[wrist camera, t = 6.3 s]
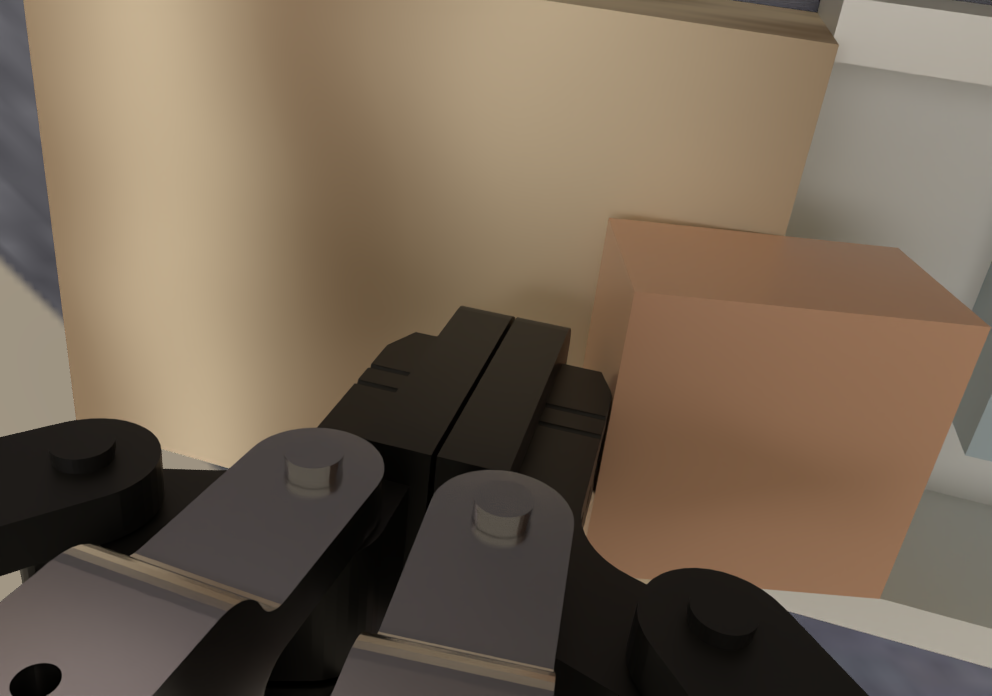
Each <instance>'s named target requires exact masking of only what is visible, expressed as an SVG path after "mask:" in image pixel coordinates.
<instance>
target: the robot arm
mask: <svg viewBox="0 0 992 696" xmlns="http://www.w3.org/2000/svg"><path fill="white" fill-rule="evenodd" d="M570 338H571V328H567V327H563V326H558V325H553V324H548V323H543V322H539V321H534V320H529V319H524V318H519V317H517V318H516V319H515V317H514V316H509V315H504V314H500V313H495V312H490V311H485V310H480V309H476V308H471V307H466V306H460V307H459V308H458V309H457V311H456V312H455V313H454V315H453V316H452V318H451V319H450V320H449V322H448V323H447V324H446V326H445V327H444V328H443V330H442V331H441V332H440V334H439V335H438V336H432V335H428V334H423V333H418V332H414V333H412V334H410V335H408V336H406V337H403V338H401V339H399V340H397V341H395V342H392V343H390V344H388V345H387V346H386V347H385V348H384V349H383V350H382V352H381V353H380V354H379V355H378V356H377V357H376V359H375V360H374V361H373V362H372V363H371V367H370V368H367V369H366V370H365V372H364V373H363V374H362V375H361V376H360V377H359V379H358V382H357V384H356V383H354V385H353V386H352V387H351V388H350V389H349V390H348V392H347V393H346V394H345V395H344V396H343V397H342V399H341V400H340V401H339V402H338V403H337V404H336V406H335V407H334V408H333V409H332V410H331V412H330V413H329V414H328V415H327V416H326V417H325V419H324V420H323V421H322V422H321V423H320V424H319V426H318V427H317V428H300V429H294V430H288V431H285V432H281V433H278V434H275V435H273V436H270V437H268V438H266V439H264V440H262V441H261V442H259V443H258V444H256V445H255V446H254V447H253V448H251V449H250V450H249V451H248V452H247V453H246V454H245V455H244V456H243V457H241V458H240V459H239V460H238V461H237V462H236V463H235V464H234V465H233V466H231V467H230V468H229V469H228V470H218V471H217V470H185V469H163V467H162V466H163V465H162V453H161V444H160V442H159V440H158V438H157V437H156V436H155V435H154V434H153V433H152V432H151V431H149V430H148V429H146V428H145V427H143V426H140V425H138V424H135V423H132V422H129V421H124V420H118V419H108V418H90V419H81V420H74V421H69V422H64V423H59V424H55V425H51V426H46V427H42V428H38V429H34V430H29V431H25V432H21V433H16V434H12V435H8V436H3V437H0V576H2V575H5V574H8V573H12V572H14V571H18V570H20V573H21V577H22V585H21V586H19V587H18V588H17V589H16V590H14V591H13V592H12V593H10V594H9V595H8V596H7V597H6V598H4V599H3V600H2V601H1V602H0V696H868V695H867V693H866V692H865V691H864V690H863V689H862V688H861V687H860V686H859V685H858V684H857V683H856V682H855V681H854V680H853V679H852V678H851V677H850V676H849V675H848V674H847V673H846V672H845V671H844V670H843V668H842V667H841V666H840V665H839V664H838V663H837V662H836V661H835V660H834V659H833V658H832V657H831V656H830V655H829V654H828V653H827V652H826V651H825V650H824V649H823V648H822V647H821V646H820V645H819V643H818V642H817V641H816V640H815V639H814V638H813V637H812V636H811V635H810V634H809V633H808V632H807V631H806V630H805V629H804V628H803V627H802V626H801V625H800V624H799V623H798V622H797V621H796V620H795V618H794V617H793V616H792V615H791V614H790V613H789V612H788V611H787V610H786V609H785V608H784V607H783V606H782V605H781V604H780V603H779V602H778V601H776V600H775V599H774V598H773V597H772V596H770V595H769V594H768V593H766V592H765V591H764V590H762V589H761V588H759V587H757V586H755V585H754V584H752V583H750V582H748V581H746V580H744V579H741V578H739V577H737V576H734V575H731V574H728V573H725V572H721V571H716V570H712V569H704V568H681V569H675V570H671V571H668V572H665V573H662V574H660V575H658V576H657V577H655V578H653V579H652V580H651V581H650V582H649V583H647V584H645V583H643V582H641V581H639V580H637V579H635V578H633V577H631V576H629V575H628V574H626V573H624V572H622V571H621V570H619V569H617V568H616V567H614V566H613V565H612V564H610V563H609V562H608V561H606V560H605V559H604V558H603V557H602V556H601V555H600V554H599V553H598V552H597V551H596V550H595V549H594V547H593V546H592V545H591V544H590V542H589V540H588V539H587V537H586V535H585V533H584V530H583V528H584V524H585V520H586V516H587V512H588V508H589V504H590V500H591V496H592V493H593V488H594V483H595V478H596V473H597V468H598V463H599V458H600V453H601V448H602V443H603V438H604V433H605V428H606V423H607V418H608V413H609V409H610V404H611V399H612V394H611V390H610V388H609V386H608V384H607V382H606V380H605V378H604V376H603V374H602V372H599V371H595V370H590V369H585V368H581V367H576V366H572V365H567V364H566V363H567V357H568V351H569V345H570Z"/></svg>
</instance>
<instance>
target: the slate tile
mask: <svg viewBox="0 0 992 696" xmlns="http://www.w3.org/2000/svg"><path fill="white" fill-rule="evenodd" d="M972 311H973V312H974V313H975V314H976V315H977V316H978V317H980V318H981V319H982V320H983V321H984V322H985V323H987V324H988V325H989V326H990V327H991V329H990V331H989V334H988V336H987V338H986V341H985V343H984V346H983V348H982V351H981V353H980V355H979V358H978V360H977V363H976V365H975V368H974V370H973V373H972V375H971V377H970V380H969V382H968V385H967V387H966V390H965V392H964V394H963V397H962V399H961V402H960V404H959V407H958V409H957V412H956V414H955V416H954V419H953V421H952V422H953V425H954V428H955V430H956V433H957V436H958V438H959V441H960V443H961V446H962V449H963V451H964V454H965V455H966V456H970V457H974V458H979V459H983V460H987V461H991V462H992V262H991V264H990V267H989V269H988V272H987V274H986V277H985V279H984V282H983V284H982V287H981V289H980V292H979V294H978V297H977V299H976V301H975V304H974V306H973V309H972Z"/></svg>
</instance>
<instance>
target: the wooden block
mask: <svg viewBox="0 0 992 696" xmlns="http://www.w3.org/2000/svg"><path fill="white" fill-rule="evenodd" d="M24 8H25V16H26V24H27V32H28V40H29V48H30V56H31V64H32V72H33V80H34V88H35V96H36V104H37V112H38V120H39V128H40V136H41V144H42V152H43V159H44V167H45V175H46V183H47V191H48V199H49V207H50V215H51V223H52V231H53V239H54V247H55V255H56V263H57V271H58V279H59V287H60V295H61V303H62V311H63V319H64V327H65V334H66V342H67V350H68V358H69V366H70V374H71V382H72V390H73V398H74V406H75V413H76V420H81V419H90V418H108V419H118V420H124V421H129V422H132V423H135V424H138V425H140V426H143V427H145V428H146V429H148V430H149V431H151V432H152V433H153V434H154V435H155V436H156V437H157V438H158V440H159V442H160V444H161V449H163V450H167V451H170V452H174V453H177V454H181V455H184V456H188V457H191V458H195V459H198V460H202V461H205V462H209V463H212V464H216V465H219V466H223V467H226V468H230V467H231V466H233V465H234V464H235V463H236V462H237V461H238V460H239V459H240V458H241V457H243V456H244V455H245V454H246V453H247V452H248V451H249V450H250V449H251V448H253V447H254V446H255V445H256V444H258V443H259V442H261V441H262V440H264V439H266V438H268V437H270V436H273V435H275V434H278V433H281V432H285V431H288V430H294V429H300V428H317V427H318V426H319V424H320V423H321V422H322V421H323V420H324V419H325V417H326V416H327V415H328V414H329V413H330V412H331V410H332V409H333V408H334V407H335V406H336V404H337V403H338V402H339V401H340V400H341V399H342V397H343V396H344V395H345V394H346V393H347V392H348V390H349V389H350V388H351V387H352V386H353V385H354V383H356V384H357V382H358V379H359V377H360V376H361V375H362V374H363V373H364V372H365V370H366V369H367V368H370V367H371V363H372V362H373V361H374V360H375V359H376V357H377V356H378V355H379V354H380V353H381V352H382V350H383V349H384V348H385V347H386V346H387V345H388V344H390V343H392V342H395V341H397V340H399V339H401V338H403V337H406V336H408V335H410V334H412V333H414V332H418V333H423V334H428V335H432V336H438V335H439V334H440V332H441V331H442V330H443V328H444V327H445V326H446V324H447V323H448V322H449V320H450V319H451V318H452V316H453V315H454V313H455V312H456V311H457V309H458V308H459V307H460V306H466V307H471V308H476V309H480V310H485V311H490V312H495V313H500V314H504V315H509V316H514V317H515V319H516V318H517V317H519V318H524V319H529V320H534V321H539V322H543V323H548V324H553V325H558V326H563V327H567V328H571V338H570V345H569V351H568V357H567V363H566V364H567V365H572V366H576V367H581V368H583V362H584V357H585V351H586V345H587V339H588V334H589V328H590V322H591V316H592V311H593V305H594V299H595V293H596V288H597V282H598V276H599V270H600V265H601V259H602V253H603V247H604V242H605V236H606V230H607V224H608V218H617V219H626V220H636V221H645V222H655V223H665V224H674V225H684V226H693V227H703V228H713V229H722V230H732V231H741V232H751V233H761V234H770V235H780V236H785V233H786V230H787V226H788V223H789V219H790V216H791V212H792V209H793V205H794V202H795V198H796V194H797V191H798V187H799V184H800V180H801V177H802V173H803V170H804V166H805V163H806V159H807V156H808V152H809V149H810V145H811V142H812V138H813V135H814V131H815V128H816V124H817V121H818V117H819V114H820V110H821V107H822V103H823V100H824V96H825V93H826V89H827V85H828V82H829V78H830V75H831V71H832V68H833V64H834V61H835V57H836V54H837V50H838V47H839V44H838V43H837V41H836V40H835V38H834V37H833V35H832V34H831V32H830V31H829V29H828V28H827V26H826V25H825V23H824V22H823V20H822V19H821V17H820V16H819V15H818V13H816V12H809V11H802V10H795V9H788V8H781V7H774V6H768V5H761V4H754V3H747V2H740V1H733V0H24ZM635 579H637V580H639V581H641V582H643V583H645V584H647V583H649V582H650V581H651V579H639V578H635Z"/></svg>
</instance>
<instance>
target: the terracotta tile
mask: <svg viewBox="0 0 992 696" xmlns="http://www.w3.org/2000/svg"><path fill="white" fill-rule="evenodd" d="M990 329H991V327H990V326H989V325H988V324H987V323H985V322H984V321H983V320H982V319H981V318H980V317H978V316H977V315H976V314H975V313H974V312H973V311H971V310H970V309H969V308H968V307H967V306H966V305H964V304H963V303H962V302H961V301H960V300H959V299H957V298H956V297H955V296H954V295H953V294H951V293H950V292H949V291H948V290H947V289H946V288H944V287H943V286H942V285H941V284H940V283H939V282H937V281H936V280H935V279H934V278H933V277H932V276H930V275H929V274H928V273H927V272H926V271H925V270H923V269H922V268H921V267H920V266H919V265H918V264H916V263H915V262H914V261H913V260H912V259H910V258H909V257H908V256H907V255H906V254H905V253H903V252H902V251H901V250H900V249H899V248H895V247H886V246H876V245H866V244H857V243H847V242H837V241H828V240H818V239H809V238H799V237H789V236H780V235H770V234H761V233H751V232H741V231H732V230H722V229H713V228H703V227H693V226H684V225H674V224H665V223H655V222H645V221H636V220H626V219H617V218H608V224H607V230H606V236H605V242H604V247H603V253H602V259H601V265H600V270H599V276H598V282H597V288H596V293H595V299H594V305H593V311H592V316H591V322H590V328H589V334H588V339H587V345H586V351H585V357H584V362H583V368H585V369H590V370H595V371H599V372H602V374H603V376H604V378H605V380H606V382H607V384H608V386H609V388H610V390H611V394H612V399H611V404H610V409H609V413H608V418H607V423H606V428H605V433H604V438H603V443H602V448H601V453H600V458H599V463H598V468H597V473H596V478H595V483H594V488H593V493H592V496H591V500H590V504H589V508H588V512H587V516H586V520H585V524H584V528H583V530H584V533H585V535H586V537H587V539H588V540H589V542H590V544H591V545H592V546H593V547H594V549H595V550H596V551H597V552H598V553H599V554H600V555H601V556H602V557H603V558H604V559H605V560H606V561H608V562H609V563H610V564H612V565H613V566H614V567H616V568H617V569H619V570H621V571H622V572H624V573H626V574H628V575H629V576H631V577H633V578H639V579H651V580H652V579H653V578H655V577H657V576H658V575H660V574H662V573H665V572H668V571H671V570H675V569H681V568H704V569H712V570H716V571H721V572H725V573H728V574H731V575H734V576H737V577H739V578H741V579H744V580H746V581H748V582H750V583H752V584H754V585H755V586H757V587H759V588H761V589H769V590H780V591H792V592H804V593H816V594H827V595H839V596H851V597H863V598H875V599H880V597H881V594H882V592H883V590H884V587H885V585H886V582H887V580H888V577H889V575H890V572H891V570H892V568H893V565H894V563H895V560H896V558H897V555H898V553H899V551H900V548H901V546H902V543H903V541H904V538H905V536H906V533H907V531H908V529H909V526H910V524H911V521H912V519H913V516H914V514H915V511H916V509H917V507H918V504H919V502H920V499H921V497H922V494H923V492H924V490H925V487H926V485H927V482H928V480H929V477H930V475H931V472H932V470H933V468H934V465H935V463H936V460H937V458H938V455H939V453H940V451H941V448H942V446H943V443H944V441H945V438H946V436H947V433H948V431H949V429H950V426H951V424H952V421H953V419H954V416H955V414H956V412H957V409H958V407H959V404H960V402H961V399H962V397H963V394H964V392H965V390H966V387H967V385H968V382H969V380H970V377H971V375H972V373H973V370H974V368H975V365H976V363H977V360H978V358H979V355H980V353H981V351H982V348H983V346H984V343H985V341H986V338H987V336H988V334H989V331H990Z"/></svg>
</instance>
